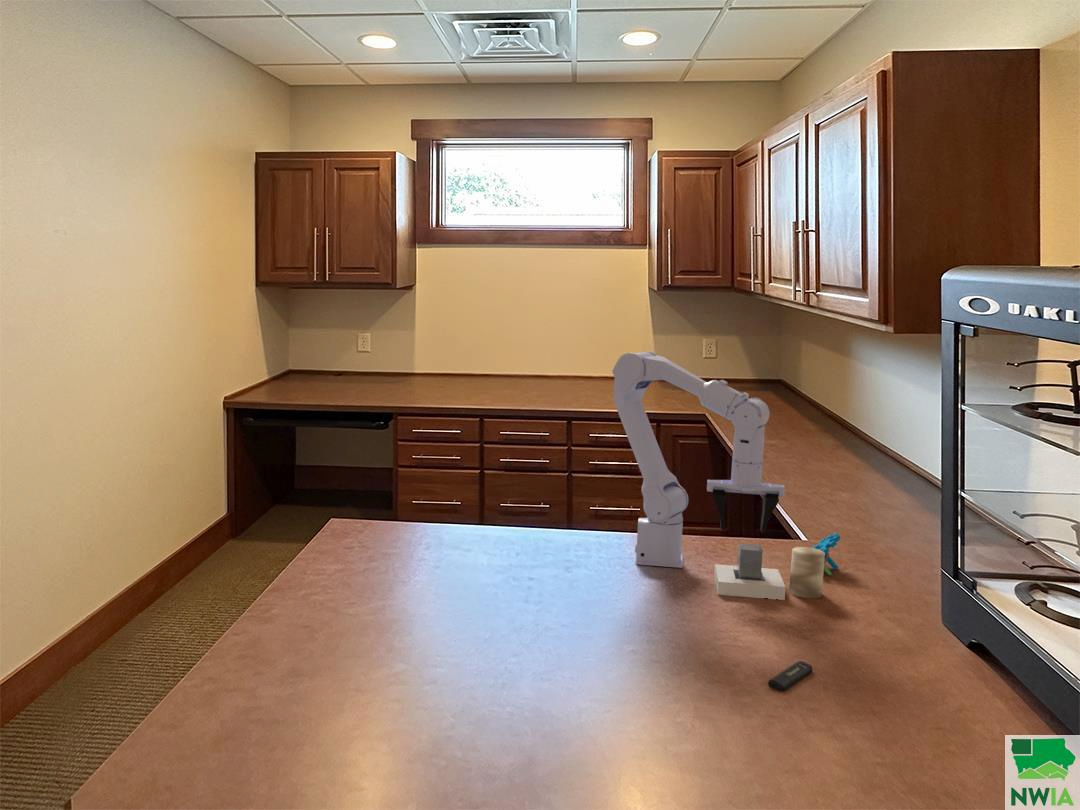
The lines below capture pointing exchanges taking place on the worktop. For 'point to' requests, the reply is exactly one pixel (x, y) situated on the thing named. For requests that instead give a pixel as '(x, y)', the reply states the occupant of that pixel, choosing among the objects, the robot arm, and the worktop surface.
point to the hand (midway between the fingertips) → (742, 529)
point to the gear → (824, 547)
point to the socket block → (749, 583)
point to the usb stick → (790, 676)
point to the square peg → (749, 562)
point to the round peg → (807, 572)
